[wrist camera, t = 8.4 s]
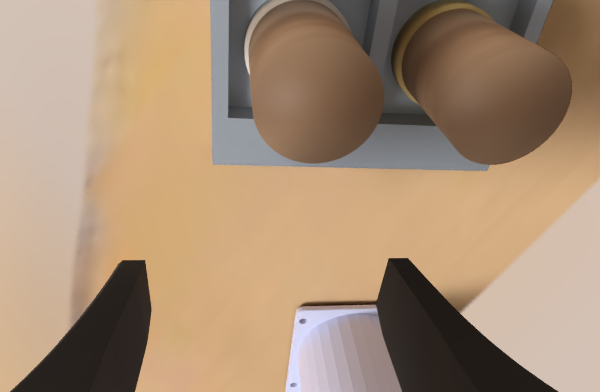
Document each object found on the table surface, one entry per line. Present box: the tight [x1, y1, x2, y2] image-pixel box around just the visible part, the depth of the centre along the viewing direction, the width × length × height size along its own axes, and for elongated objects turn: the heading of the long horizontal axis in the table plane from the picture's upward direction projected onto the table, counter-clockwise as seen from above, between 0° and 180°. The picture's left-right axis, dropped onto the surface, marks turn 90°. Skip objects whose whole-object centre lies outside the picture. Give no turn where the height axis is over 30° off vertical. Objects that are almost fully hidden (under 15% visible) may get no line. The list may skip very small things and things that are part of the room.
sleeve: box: [391, 0, 572, 165], centre depth 17 cm, size 4×4×6 cm
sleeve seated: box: [244, 0, 384, 164], centre depth 16 cm, size 4×4×6 cm
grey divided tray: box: [210, 0, 553, 171], centre depth 19 cm, size 10×13×2 cm
